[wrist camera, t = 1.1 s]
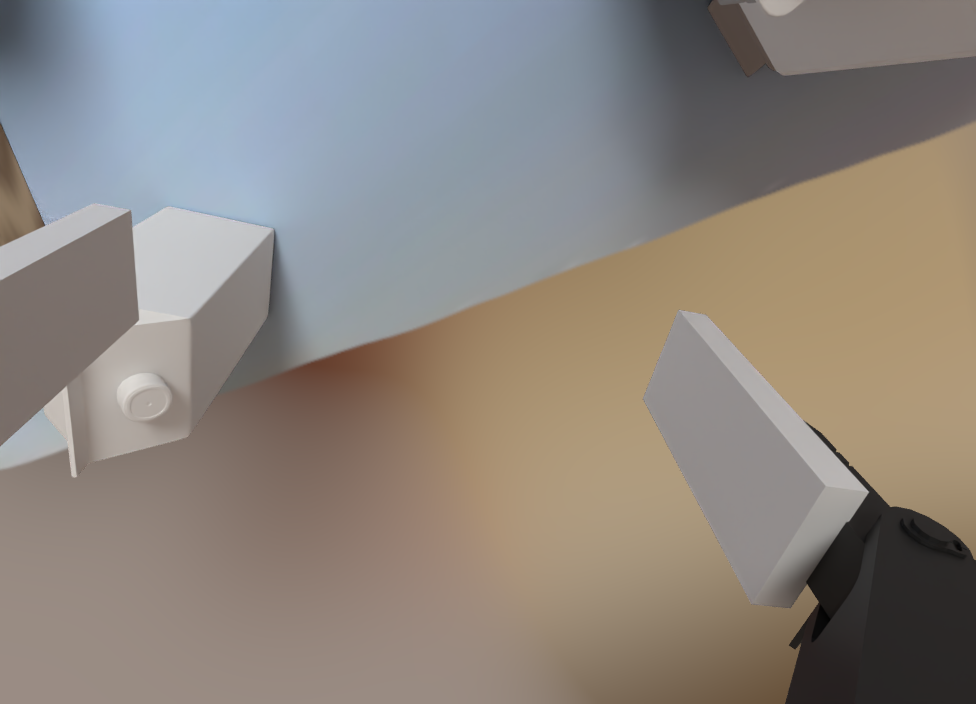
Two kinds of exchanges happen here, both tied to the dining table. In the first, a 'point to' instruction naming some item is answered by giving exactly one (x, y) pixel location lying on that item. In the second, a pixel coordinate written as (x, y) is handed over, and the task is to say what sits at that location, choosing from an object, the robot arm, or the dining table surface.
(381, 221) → the dining table surface
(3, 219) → the socket block
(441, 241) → the dining table surface
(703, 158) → the dining table surface
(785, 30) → the toaster
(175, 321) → the milk carton
